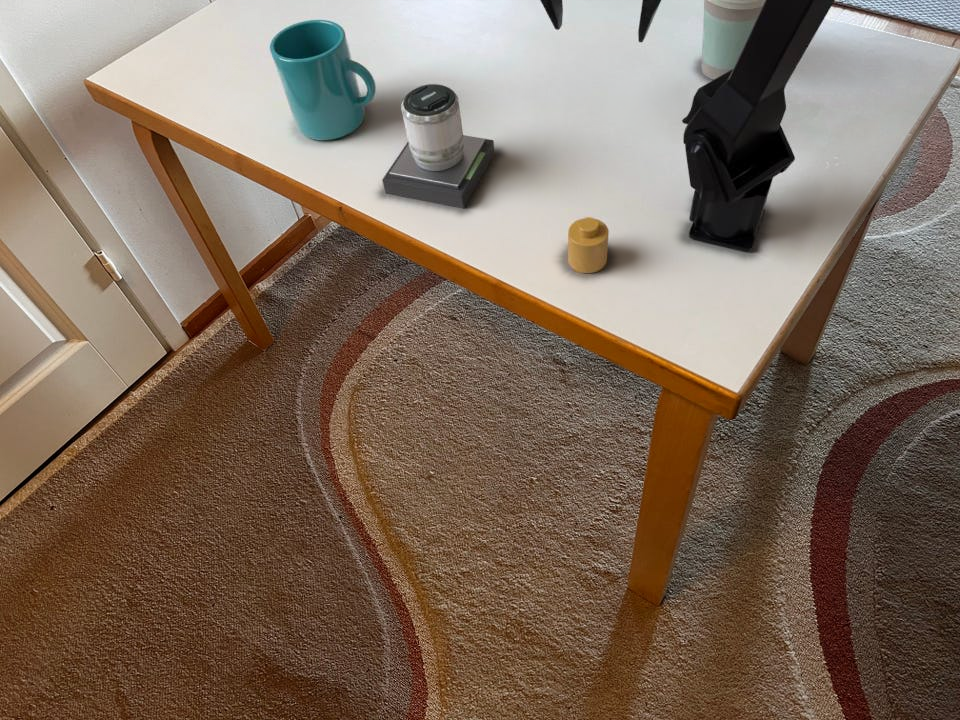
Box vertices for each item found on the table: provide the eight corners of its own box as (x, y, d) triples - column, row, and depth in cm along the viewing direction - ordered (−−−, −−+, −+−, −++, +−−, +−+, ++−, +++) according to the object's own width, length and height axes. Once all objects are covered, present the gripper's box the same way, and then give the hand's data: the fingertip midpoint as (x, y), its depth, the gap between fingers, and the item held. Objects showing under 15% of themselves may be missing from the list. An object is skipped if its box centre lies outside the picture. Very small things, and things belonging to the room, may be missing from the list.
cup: (370, 149, 89) (349, 66, 80) (285, 138, 92) (255, 57, 83) (397, 106, 94) (379, 23, 85) (315, 97, 97) (290, 16, 88)
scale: (495, 153, 86) (493, 135, 84) (463, 208, 81) (461, 190, 79) (420, 141, 89) (416, 123, 87) (385, 193, 84) (380, 175, 82)
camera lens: (476, 154, 82) (469, 93, 76) (434, 181, 80) (423, 121, 74) (442, 131, 86) (433, 71, 79) (401, 156, 83) (387, 97, 77)
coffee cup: (737, 44, 95) (756, -51, 85) (772, 77, 90) (797, -20, 80) (678, 60, 94) (691, -34, 84) (710, 95, 89) (728, -1, 79)
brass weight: (612, 251, 75) (614, 215, 71) (599, 277, 73) (601, 242, 69) (575, 242, 76) (576, 206, 72) (562, 268, 74) (562, 232, 70)
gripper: (735, -164, 65) (707, 7, 77) (542, -175, 70) (545, -15, 83) (703, -111, 59) (678, 63, 71) (496, -128, 65) (507, 36, 77)
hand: (599, 33), depth 76 cm, fingers open, 9 cm apart
